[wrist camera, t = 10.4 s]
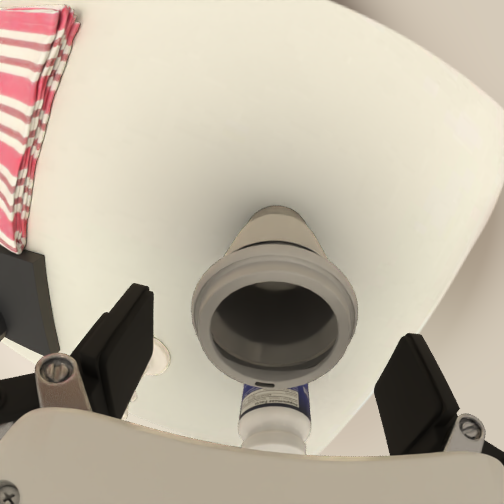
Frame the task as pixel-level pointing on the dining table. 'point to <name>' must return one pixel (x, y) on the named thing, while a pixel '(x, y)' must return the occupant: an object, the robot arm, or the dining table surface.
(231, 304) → the cup
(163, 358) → the chess piece
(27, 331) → the scale
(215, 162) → the dining table surface
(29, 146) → the dish towel
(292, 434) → the pill bottle
